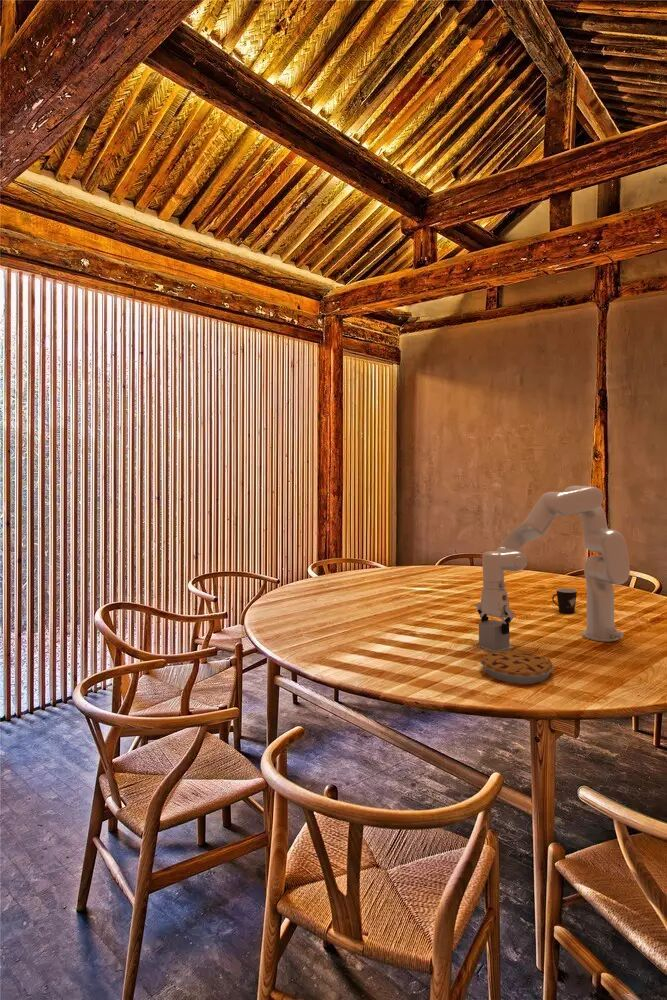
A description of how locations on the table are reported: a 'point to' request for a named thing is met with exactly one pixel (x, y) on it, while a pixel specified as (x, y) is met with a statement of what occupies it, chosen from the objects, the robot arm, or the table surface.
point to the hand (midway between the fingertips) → (495, 630)
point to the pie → (517, 666)
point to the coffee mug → (566, 600)
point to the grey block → (493, 635)
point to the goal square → (496, 650)
